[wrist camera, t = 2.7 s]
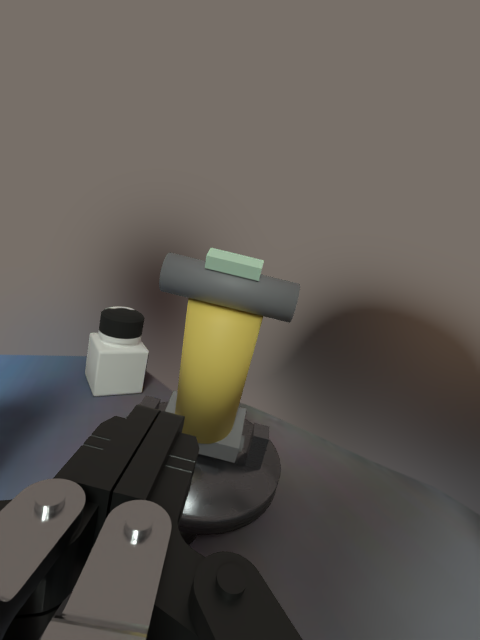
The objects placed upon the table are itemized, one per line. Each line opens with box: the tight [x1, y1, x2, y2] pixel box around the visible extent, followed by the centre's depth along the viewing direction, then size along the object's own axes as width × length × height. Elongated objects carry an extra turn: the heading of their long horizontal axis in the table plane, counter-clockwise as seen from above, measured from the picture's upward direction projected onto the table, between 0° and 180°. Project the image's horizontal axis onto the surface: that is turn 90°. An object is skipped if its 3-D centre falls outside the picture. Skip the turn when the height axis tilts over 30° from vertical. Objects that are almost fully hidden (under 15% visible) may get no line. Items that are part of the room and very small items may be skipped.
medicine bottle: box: [85, 307, 149, 397], centre depth 53 cm, size 7×7×12 cm
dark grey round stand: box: [125, 396, 281, 545], centre depth 38 cm, size 18×18×8 cm
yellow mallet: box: [160, 248, 300, 463], centre depth 32 cm, size 10×6×22 cm, turn 85°
